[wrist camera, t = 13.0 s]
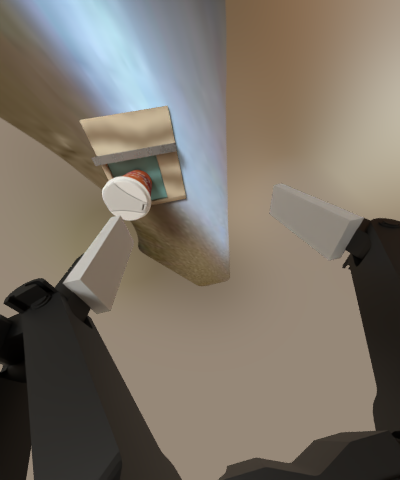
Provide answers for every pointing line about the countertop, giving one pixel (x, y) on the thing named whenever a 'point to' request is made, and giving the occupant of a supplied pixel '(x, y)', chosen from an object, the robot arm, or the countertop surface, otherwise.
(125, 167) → the board
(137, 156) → the rail
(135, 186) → the coffee cup
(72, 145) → the countertop surface
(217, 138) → the countertop surface
